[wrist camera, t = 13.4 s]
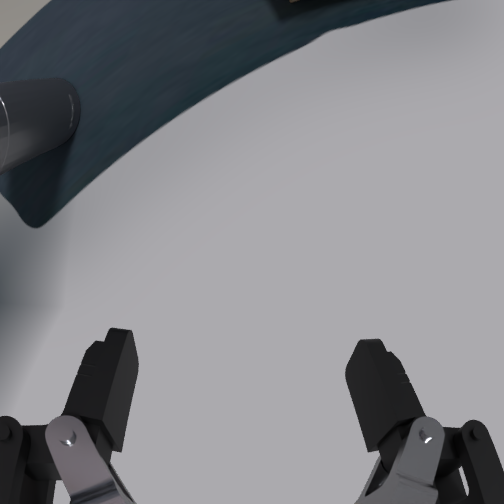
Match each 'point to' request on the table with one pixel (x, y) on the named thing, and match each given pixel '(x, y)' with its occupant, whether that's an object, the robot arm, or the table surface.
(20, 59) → the table surface
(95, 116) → the table surface
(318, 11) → the table surface
